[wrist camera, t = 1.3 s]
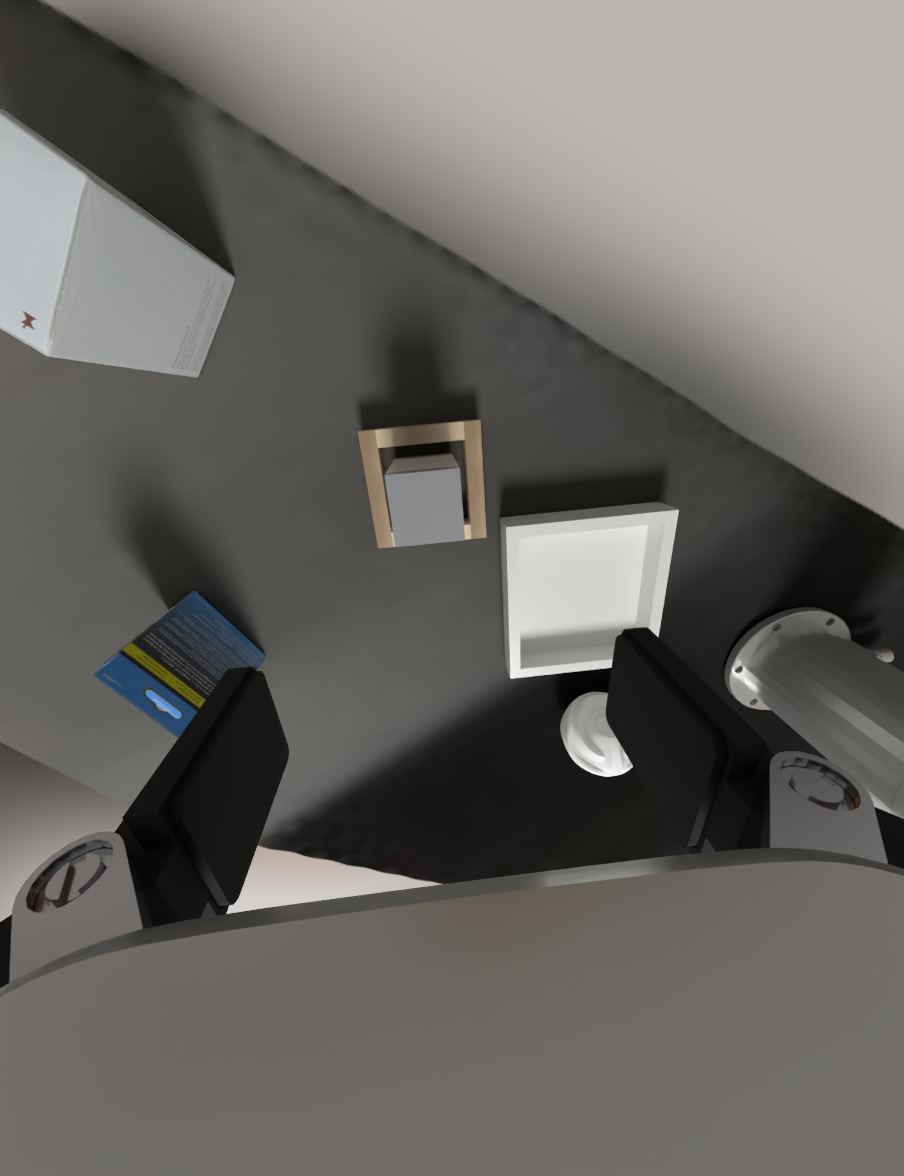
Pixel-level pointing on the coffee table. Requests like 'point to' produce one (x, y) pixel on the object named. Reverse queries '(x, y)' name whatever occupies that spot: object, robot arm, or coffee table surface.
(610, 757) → the white grooved ball
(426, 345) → the coffee table surface
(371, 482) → the tan wooden flat frame
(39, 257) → the supplement box
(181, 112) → the coffee table surface
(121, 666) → the label tape cartridge
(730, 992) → the robot arm
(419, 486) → the grey white rectangular block
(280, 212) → the coffee table surface
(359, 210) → the coffee table surface
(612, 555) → the parts tray
